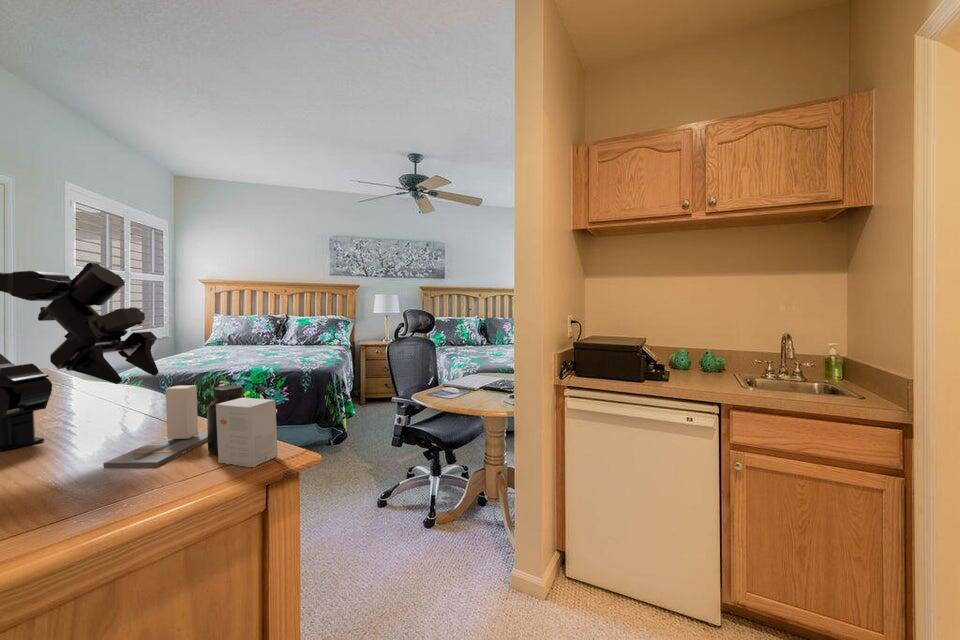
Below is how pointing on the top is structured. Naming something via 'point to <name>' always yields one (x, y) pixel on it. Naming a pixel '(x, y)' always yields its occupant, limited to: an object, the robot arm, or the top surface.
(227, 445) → the small box
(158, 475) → the top surface
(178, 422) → the fader tab
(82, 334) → the robot arm
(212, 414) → the supplement bottle
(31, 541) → the top surface
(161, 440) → the board
